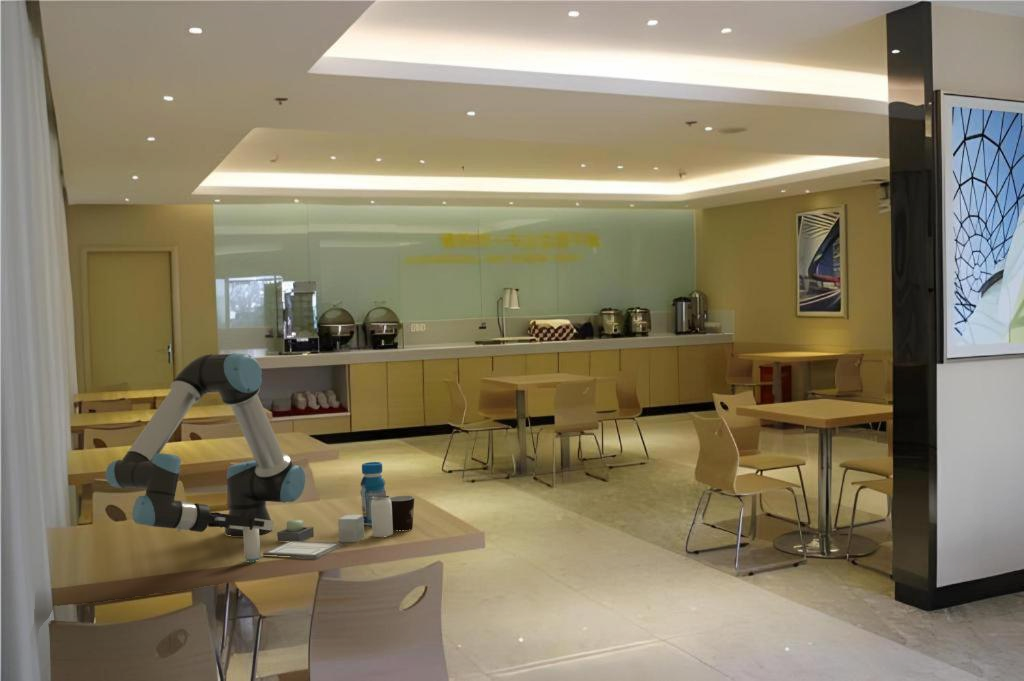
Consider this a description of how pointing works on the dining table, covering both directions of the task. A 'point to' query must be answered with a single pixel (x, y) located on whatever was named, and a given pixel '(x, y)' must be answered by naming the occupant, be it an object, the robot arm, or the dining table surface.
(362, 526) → the product box
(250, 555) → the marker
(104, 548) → the dining table surface
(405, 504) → the coffee mug
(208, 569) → the dining table surface
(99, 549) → the dining table surface
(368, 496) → the beverage bottle
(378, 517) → the can
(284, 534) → the button box
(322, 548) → the picture board
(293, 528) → the button
